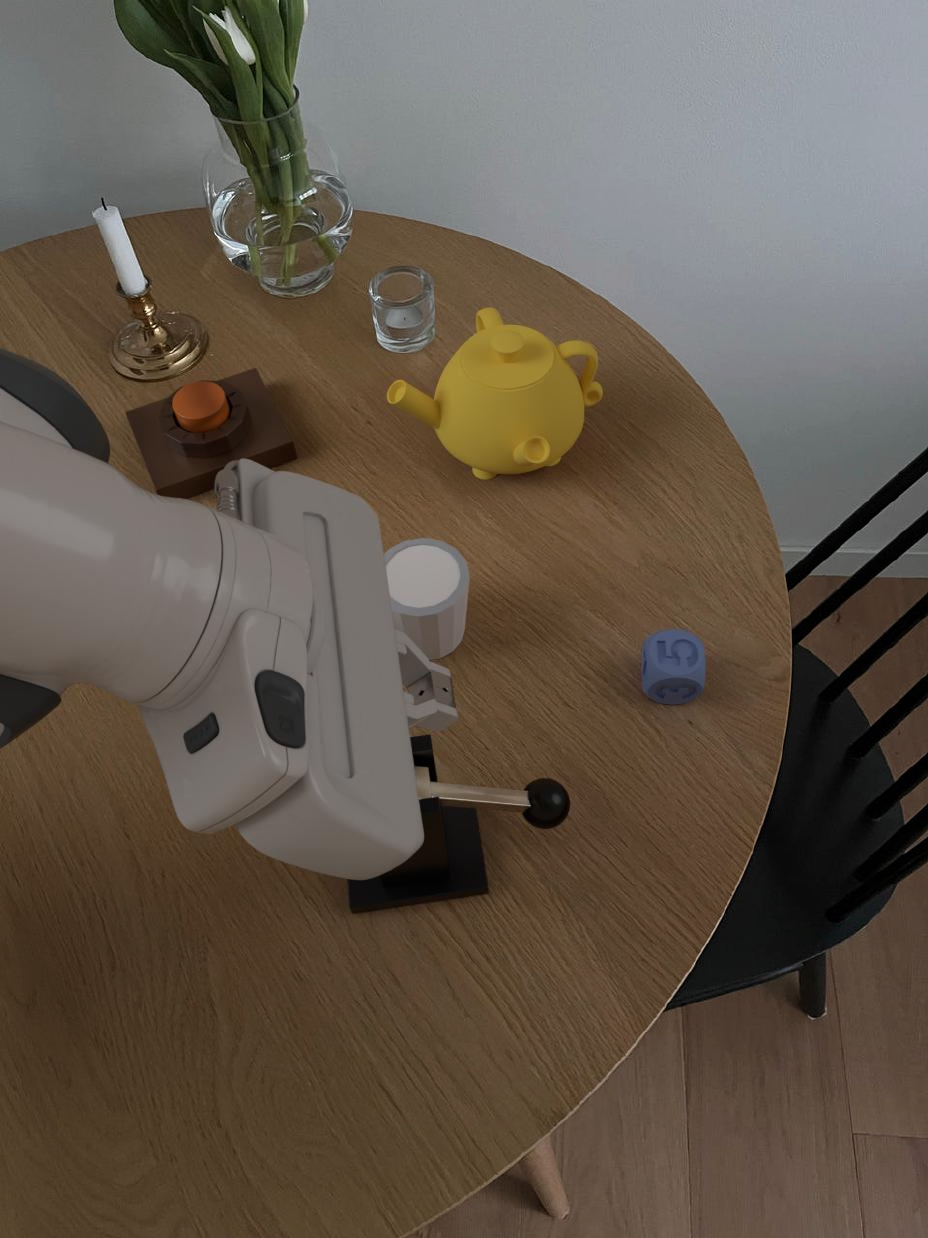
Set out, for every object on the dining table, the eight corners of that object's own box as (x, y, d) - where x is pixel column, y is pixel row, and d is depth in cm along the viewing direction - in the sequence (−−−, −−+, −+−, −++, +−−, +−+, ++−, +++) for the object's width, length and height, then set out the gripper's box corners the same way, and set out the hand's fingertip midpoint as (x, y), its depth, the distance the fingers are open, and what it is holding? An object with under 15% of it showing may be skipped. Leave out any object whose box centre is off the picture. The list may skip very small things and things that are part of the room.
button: (186, 440, 88) (180, 425, 86) (171, 406, 90) (165, 391, 89) (236, 422, 89) (231, 407, 87) (220, 389, 91) (215, 374, 90)
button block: (163, 507, 89) (149, 475, 85) (132, 429, 94) (118, 396, 90) (297, 458, 91) (289, 425, 88) (260, 385, 96) (251, 351, 93)
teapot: (391, 465, 90) (377, 367, 81) (474, 367, 96) (469, 265, 87) (539, 531, 86) (542, 435, 76) (616, 423, 92) (627, 322, 82)
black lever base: (473, 796, 73) (467, 713, 63) (489, 894, 69) (484, 822, 59) (343, 814, 73) (316, 734, 63) (351, 914, 69) (323, 845, 59)
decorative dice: (640, 657, 78) (645, 627, 75) (694, 658, 78) (702, 628, 75) (643, 704, 76) (649, 676, 73) (699, 705, 76) (707, 677, 73)
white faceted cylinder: (386, 592, 83) (376, 536, 77) (474, 592, 82) (470, 536, 77) (379, 667, 79) (368, 615, 73) (471, 668, 79) (468, 615, 73)
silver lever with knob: (548, 793, 70) (574, 771, 67) (558, 839, 68) (584, 818, 66) (366, 776, 64) (387, 751, 62) (370, 825, 62) (392, 802, 60)
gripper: (179, 482, 54) (383, 572, 63) (182, 867, 42) (431, 909, 51) (253, 409, 50) (458, 515, 59) (278, 805, 39) (526, 863, 48)
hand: (446, 701), depth 55 cm, fingers closed
